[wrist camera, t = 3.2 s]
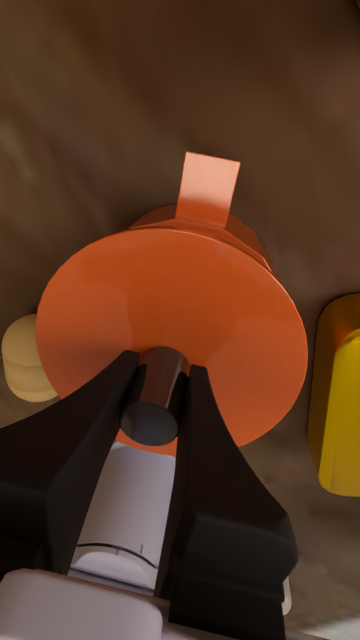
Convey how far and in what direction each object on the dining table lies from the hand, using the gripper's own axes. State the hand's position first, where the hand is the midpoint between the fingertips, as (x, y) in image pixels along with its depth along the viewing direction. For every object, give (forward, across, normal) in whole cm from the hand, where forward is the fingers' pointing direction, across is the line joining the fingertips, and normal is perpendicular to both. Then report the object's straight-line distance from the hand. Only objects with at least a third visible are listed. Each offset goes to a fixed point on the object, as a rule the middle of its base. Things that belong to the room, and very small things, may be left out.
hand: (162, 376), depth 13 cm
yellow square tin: (+10, -18, +3) cm, 20 cm away
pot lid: (+1, 0, 0) cm, 1 cm away
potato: (+10, +10, +7) cm, 15 cm away
